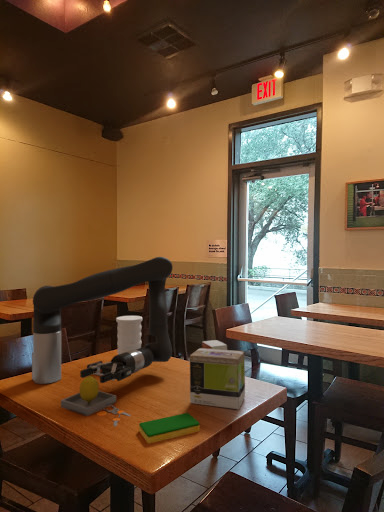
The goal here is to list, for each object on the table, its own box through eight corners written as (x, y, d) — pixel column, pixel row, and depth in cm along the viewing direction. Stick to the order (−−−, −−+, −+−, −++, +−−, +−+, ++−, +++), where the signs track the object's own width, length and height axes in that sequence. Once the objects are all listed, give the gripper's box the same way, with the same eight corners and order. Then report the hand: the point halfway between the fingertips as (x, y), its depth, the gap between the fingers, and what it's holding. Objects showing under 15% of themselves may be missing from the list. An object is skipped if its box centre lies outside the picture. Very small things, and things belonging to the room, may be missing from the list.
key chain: (91, 412, 104) (91, 409, 104) (114, 405, 108) (114, 402, 108) (113, 428, 94) (113, 425, 94) (137, 420, 99) (137, 416, 99)
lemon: (101, 399, 111) (101, 373, 110) (94, 406, 105) (94, 379, 105) (83, 398, 111) (83, 372, 111) (76, 406, 106) (76, 378, 106)
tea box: (245, 397, 113) (245, 350, 113) (238, 411, 104) (238, 359, 104) (199, 391, 118) (199, 346, 118) (189, 403, 109) (189, 354, 108)
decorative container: (111, 364, 148) (111, 319, 148) (121, 356, 159) (121, 315, 159) (138, 365, 146) (138, 320, 146) (146, 357, 157) (146, 315, 157)
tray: (60, 407, 106) (60, 400, 106) (90, 394, 116) (90, 388, 116) (87, 416, 100) (87, 408, 100) (116, 402, 110) (116, 395, 110)
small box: (201, 377, 132) (201, 341, 132) (217, 374, 135) (217, 339, 135) (211, 384, 125) (211, 346, 125) (227, 381, 127) (227, 344, 127)
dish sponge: (138, 432, 92) (138, 422, 92) (187, 421, 98) (187, 412, 98) (148, 445, 86) (148, 435, 86) (200, 432, 92) (200, 422, 92)
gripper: (112, 349, 126) (74, 360, 112) (144, 355, 118) (107, 368, 105) (112, 370, 126) (74, 385, 112) (144, 378, 118) (108, 394, 105)
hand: (90, 377), depth 109 cm, fingers open, 8 cm apart
